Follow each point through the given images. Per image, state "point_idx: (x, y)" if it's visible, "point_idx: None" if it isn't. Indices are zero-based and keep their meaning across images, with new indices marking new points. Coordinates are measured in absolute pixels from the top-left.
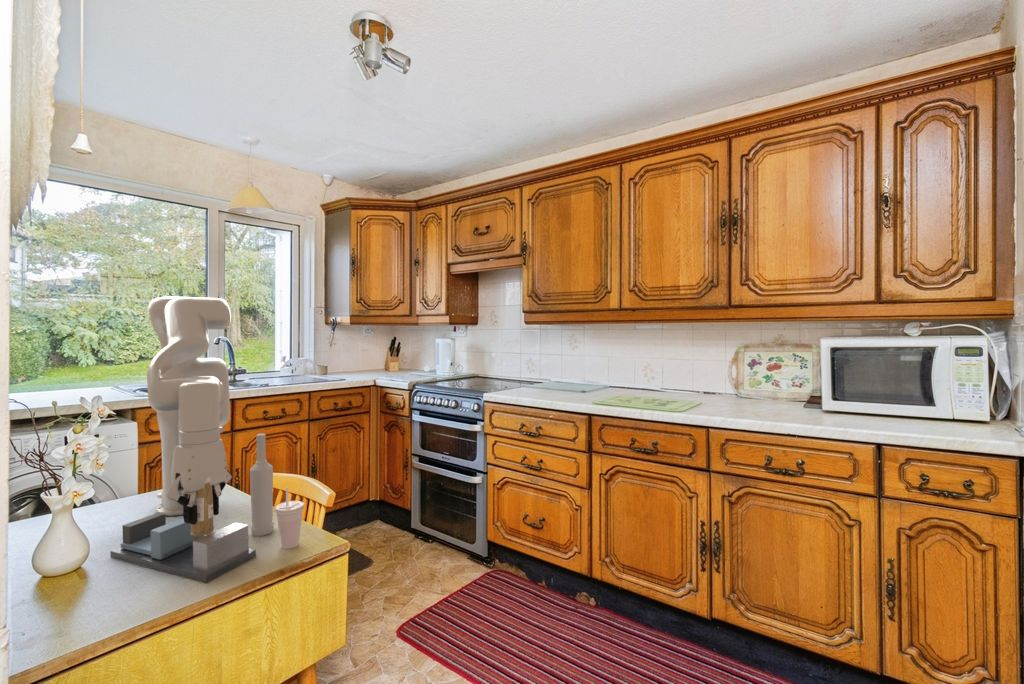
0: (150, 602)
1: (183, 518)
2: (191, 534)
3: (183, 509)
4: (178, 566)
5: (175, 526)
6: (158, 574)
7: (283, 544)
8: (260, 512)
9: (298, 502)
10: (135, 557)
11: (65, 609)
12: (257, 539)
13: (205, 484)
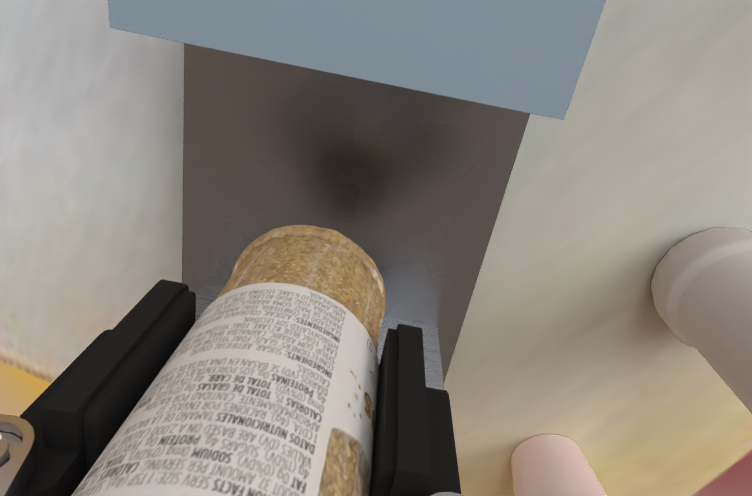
0: (12, 253)
1: (101, 333)
2: (233, 271)
3: (32, 408)
4: (199, 194)
5: (265, 58)
6: (172, 83)
7: (514, 469)
8: (740, 393)
9: None
10: None
11: None
12: (610, 304)
13: None
